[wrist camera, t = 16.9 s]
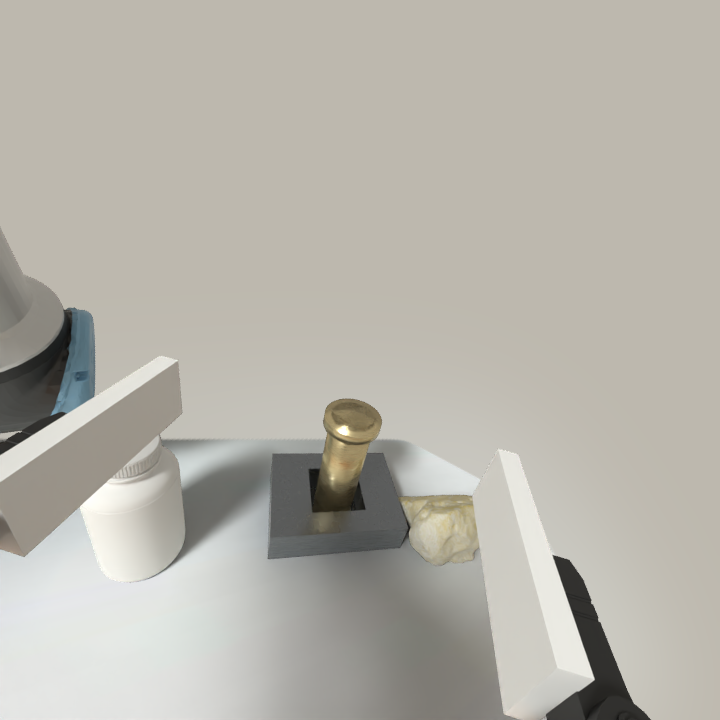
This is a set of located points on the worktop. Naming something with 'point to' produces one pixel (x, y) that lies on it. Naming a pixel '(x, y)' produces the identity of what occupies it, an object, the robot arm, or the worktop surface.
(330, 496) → the brass flanged peg
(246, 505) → the worktop surface
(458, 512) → the beige rock
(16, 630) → the worktop surface
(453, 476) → the worktop surface
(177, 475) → the pill bottle
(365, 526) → the block
